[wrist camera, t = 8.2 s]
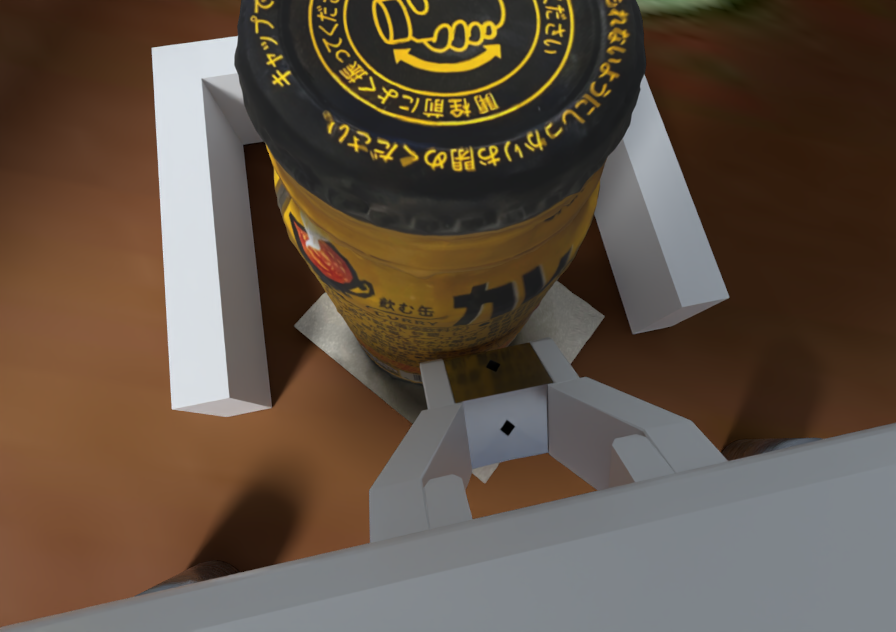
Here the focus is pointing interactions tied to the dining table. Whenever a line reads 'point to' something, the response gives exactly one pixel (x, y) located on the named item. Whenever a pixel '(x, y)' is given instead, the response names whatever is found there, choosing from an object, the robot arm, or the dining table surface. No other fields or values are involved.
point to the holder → (232, 245)
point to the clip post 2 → (760, 446)
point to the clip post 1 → (195, 575)
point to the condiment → (439, 167)
